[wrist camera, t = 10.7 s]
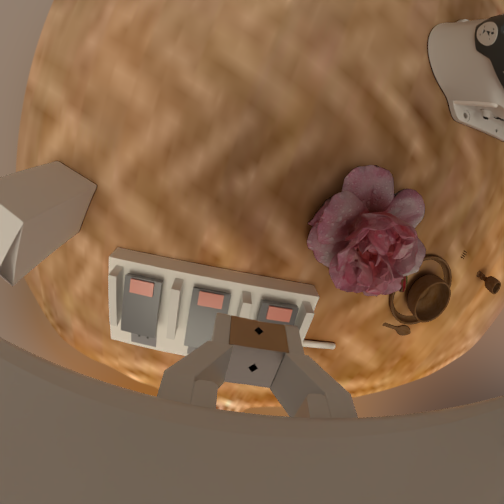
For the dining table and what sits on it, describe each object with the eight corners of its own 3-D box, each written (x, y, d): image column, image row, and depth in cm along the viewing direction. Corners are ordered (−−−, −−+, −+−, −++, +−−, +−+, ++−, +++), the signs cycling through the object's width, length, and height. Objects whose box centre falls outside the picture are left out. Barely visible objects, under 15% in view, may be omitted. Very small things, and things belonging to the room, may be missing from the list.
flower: (340, 138, 28) (380, 181, 20) (424, 192, 32) (465, 239, 25) (276, 239, 36) (288, 301, 29) (362, 269, 41) (384, 322, 34)
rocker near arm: (295, 303, 35) (299, 309, 33) (281, 352, 36) (284, 360, 34) (260, 297, 34) (262, 303, 32) (248, 347, 36) (249, 355, 34)
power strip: (358, 292, 39) (373, 314, 34) (326, 360, 44) (335, 384, 38) (117, 247, 34) (100, 266, 29) (117, 326, 39) (105, 350, 34)
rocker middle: (230, 292, 35) (231, 295, 33) (220, 347, 34) (220, 352, 32) (193, 285, 34) (192, 288, 32) (184, 341, 34) (183, 346, 32)
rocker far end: (164, 279, 33) (160, 283, 31) (157, 332, 34) (154, 339, 32) (129, 271, 32) (124, 275, 30) (124, 324, 33) (119, 331, 31)
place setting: (421, 222, 36) (445, 236, 30) (485, 265, 40) (504, 280, 34) (364, 322, 42) (378, 346, 36) (436, 342, 46) (451, 361, 40)
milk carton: (58, 160, 29) (-53, 196, 12) (98, 185, 31) (-7, 241, 14) (42, 207, 31) (-55, 266, 14) (79, 232, 33) (-11, 309, 16)
